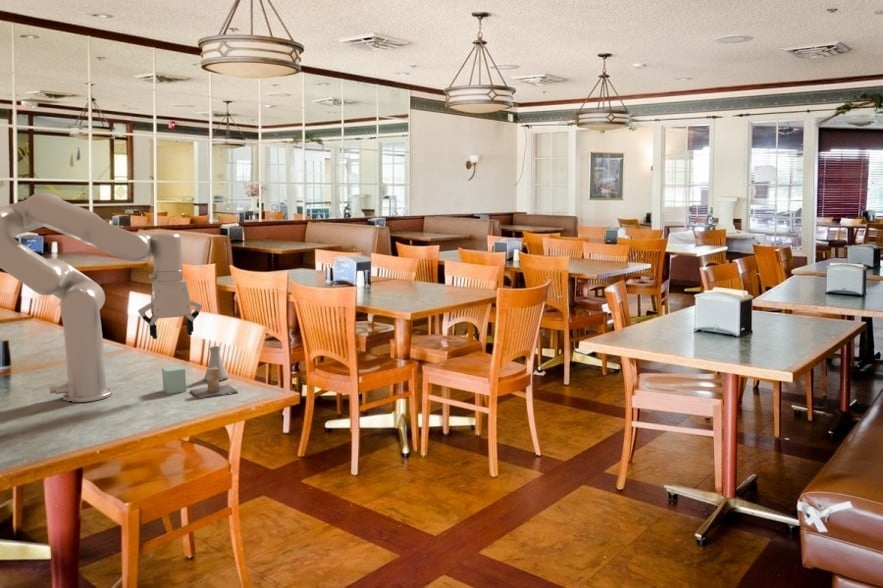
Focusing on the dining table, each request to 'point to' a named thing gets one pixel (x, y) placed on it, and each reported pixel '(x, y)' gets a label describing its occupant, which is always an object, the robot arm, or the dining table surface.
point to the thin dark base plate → (213, 386)
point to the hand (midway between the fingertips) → (172, 336)
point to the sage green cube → (174, 379)
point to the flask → (216, 362)
